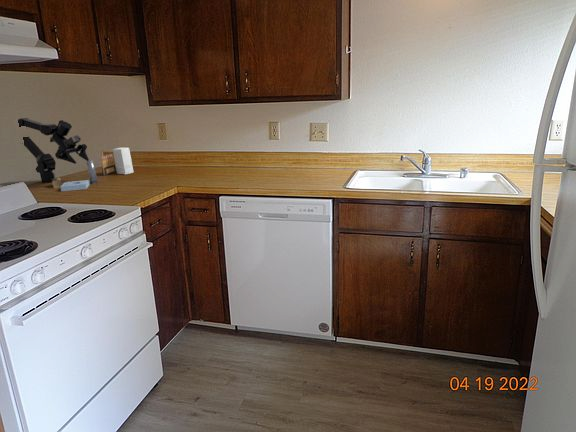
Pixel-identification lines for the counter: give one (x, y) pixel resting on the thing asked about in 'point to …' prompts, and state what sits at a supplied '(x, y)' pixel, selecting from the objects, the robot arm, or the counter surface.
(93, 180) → the round bit
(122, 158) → the skincare box
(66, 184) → the holder
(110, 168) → the brown flat upright board
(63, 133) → the robot arm
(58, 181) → the square bit
